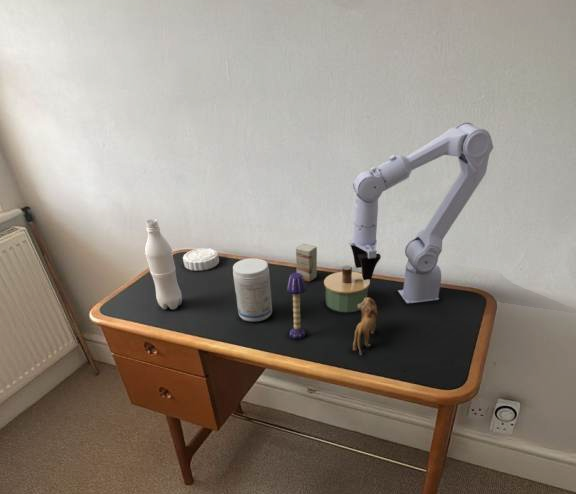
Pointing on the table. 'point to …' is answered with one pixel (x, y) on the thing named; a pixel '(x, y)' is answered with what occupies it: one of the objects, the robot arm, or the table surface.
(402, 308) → the table surface
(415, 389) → the table surface
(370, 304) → the lion figurine
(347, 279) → the lid
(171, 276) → the water bottle
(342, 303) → the canister
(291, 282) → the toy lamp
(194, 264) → the mooncake
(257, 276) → the supplement tub
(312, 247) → the beige rectangular box
